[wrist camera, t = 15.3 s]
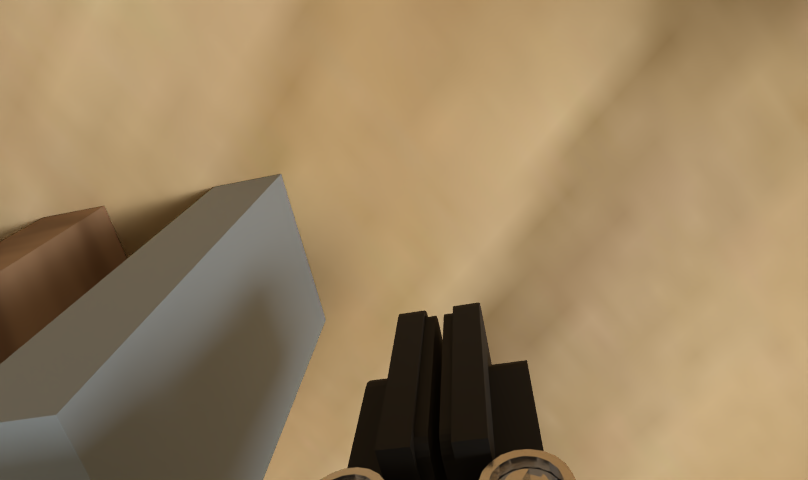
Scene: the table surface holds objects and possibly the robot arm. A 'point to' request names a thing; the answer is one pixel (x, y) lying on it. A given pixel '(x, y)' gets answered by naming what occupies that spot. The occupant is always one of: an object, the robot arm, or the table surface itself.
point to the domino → (52, 270)
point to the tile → (172, 353)
